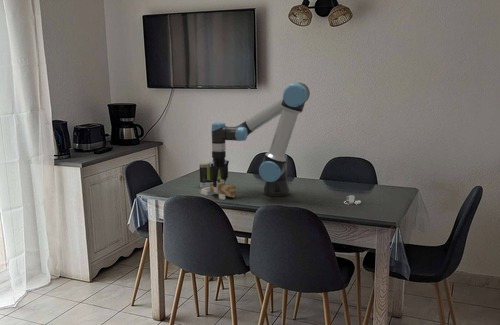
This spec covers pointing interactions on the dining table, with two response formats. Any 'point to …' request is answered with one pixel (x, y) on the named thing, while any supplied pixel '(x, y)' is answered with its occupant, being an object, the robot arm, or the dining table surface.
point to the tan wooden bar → (224, 189)
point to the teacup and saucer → (352, 200)
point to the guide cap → (223, 196)
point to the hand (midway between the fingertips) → (219, 191)
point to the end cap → (205, 191)
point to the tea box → (207, 175)
